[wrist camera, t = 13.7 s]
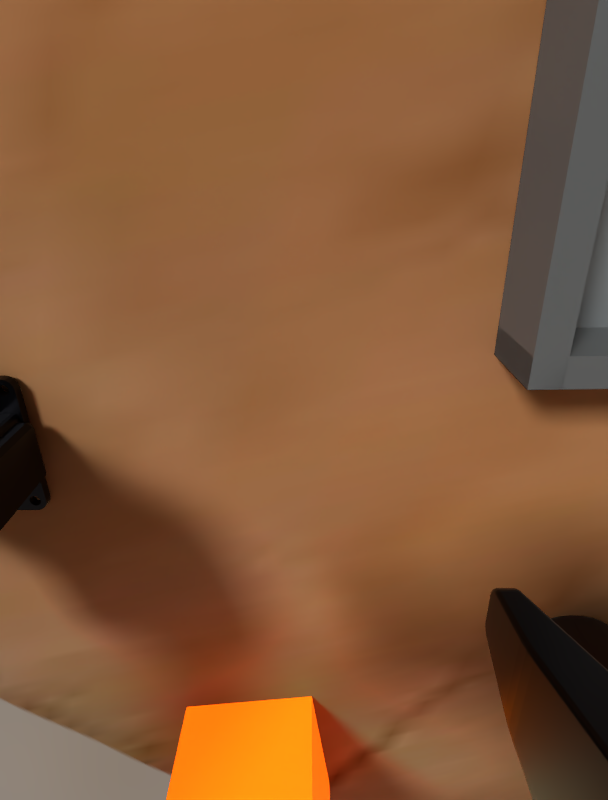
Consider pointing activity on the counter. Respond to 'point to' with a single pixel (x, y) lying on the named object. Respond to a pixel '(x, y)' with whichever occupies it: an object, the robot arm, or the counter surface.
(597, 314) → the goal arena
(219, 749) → the orange juice
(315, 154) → the counter surface
